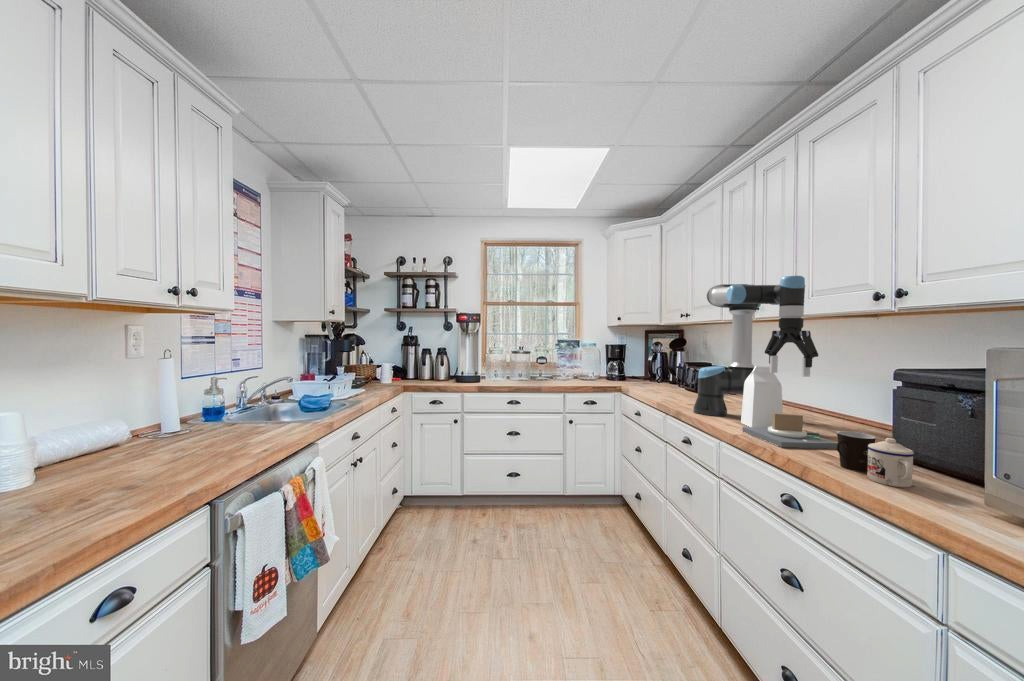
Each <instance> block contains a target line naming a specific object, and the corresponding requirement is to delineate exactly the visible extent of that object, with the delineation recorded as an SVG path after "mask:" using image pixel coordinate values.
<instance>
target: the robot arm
mask: <svg viewBox="0 0 1024 681" xmlns="http://www.w3.org/2000/svg"><path fill="white" fill-rule="evenodd" d="M805 280H806V279H805V277H804V275H803V276H802V275H788V276H787V275H785V276H783V277H781V278H780V283H779V284H748V283H745V284H743V283H742V284H741V283H737V284H735V283H734V284H727V283H726V284H723V283H722V284H718V285H714V286H712V287H711V288H710V289H708V291H707V293H706V300H707V301H708V303H709V304H710V305H712V306H714V307H716V308H724V309H725V308H726V309H728V313H729V314H731V315H732V317H731V318H732V323H731V324H732V326H731V329H732V330H731V334H732V335H731V362H730V363H729V364H728V365H727V369H726V368H725V366H721V365H719V366H715V365H714V366H705V367H701V368H699V370H698V376H697V381H698V382H697V398H696V399H695V402H694V405H693V410H692V411H693V412H694V413H695V412H696V414H699V413H700V415H705V416H714V417H715V416H716V417H720V416H721V417H722V416H723V417H724V416H727V415H728V409H727V404H726V401H725V399H724V396H725V394H739V395H740V394H741V395H743V391H744V382H745V380H746V379H747V377H748V376H749V375H750V374H751V372H752V371H753V369H754V367H755V366H756V365H754V364H753V363H752V362H753V361H752V360H753V355H752V354H753V350H752V349H753V319H754V318H753V315H754V314H755V313H756V312H757V309H758V308H760V307H761V305H771V306H774V305H775V306H777V305H779V306H778V307H779V308H778V309H779V310H778V317H779V318H778V328H779V330H772V331H771V337H770V338H769V341H768V343H767V345H766V348H765V350H764V354H765V355H768V364H769V366H770V372H771V373H774V374H775V373H776V374H777V373H778V362H779V359H778V358H779V356H778V353H779V352H780V350H781V349H782V348H783V347H784V345H785V344H787V343H793V344H794V345H795V346H796V347H797V348H798V351H800V352H801V354H802V355H803V357H802V358H801V360H802V363H801V377H811V368H812V367H813V359H814V358H818V357H819V353H818V351H817V348H816V345H815V343H814V341H813V338H812V336H811V335H812V333H811V330H802V329H803V328H804V321H805V320H804V316H805V315H804V314H805V313H804V312H805V310H804V309H805V294H806V293H805V292H806V283H805V282H806V281H805Z"/></svg>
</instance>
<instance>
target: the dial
mask: <svg viewBox="0 0 1024 681" xmlns="http://www.w3.org/2000/svg"><path fill="white" fill-rule="evenodd" d="M803 420H804V415H803V414H799V413H784V412H783V413H773V416H772V426H770V427H768V432H769V433H771V434H774V435H778V436H782V437H789V438H806V437H807V435H814V436H818V437H820V433H819V432H811V431H810V432H808V431H805V430H803V426H804V425H803Z"/></svg>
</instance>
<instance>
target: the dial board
mask: <svg viewBox="0 0 1024 681" xmlns="http://www.w3.org/2000/svg"><path fill="white" fill-rule="evenodd" d="M742 431H743V432H742V433H744V432H746V433H748V434H747V435H749V434H751V435H753V436H752V437H754V436H756V437H758V438H761V439H763V440H766V441H768V442H771V443H773V444H776V445H778V446H781V447H800V448H799V449H814V448H837V444H838V442H835V441H833V440H830V439H826V438H824V437H820V436H814V435H807V437H806V438H789V437H782V436H778V435H774V434H771V433H769V432H768V427H748V426H742ZM746 433H745V434H746ZM751 435H750V436H751ZM756 437H755V438H756ZM758 438H757V439H758ZM761 439H760V440H761ZM763 440H762V441H763ZM766 441H765V442H766ZM768 442H767V443H768ZM771 443H770V444H771ZM773 444H772V445H773ZM778 446H777V447H778Z"/></svg>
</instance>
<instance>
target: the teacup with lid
mask: <svg viewBox="0 0 1024 681" xmlns="http://www.w3.org/2000/svg"><path fill="white" fill-rule="evenodd" d="M867 448H868V471H867V472H866V473H867V478H868V479H869V480H870V481H873V482H875V483H878V484H880V485H884V486H885V485H886V486H888V487H889V486H890V487H895V488H911V487H913V474H914V469H913V468H914V467H913V466H914V456H915V452H914V451H913V450H912V449H910V448H907V447H905V446H903V445H902V444H900V443H897V440H896V439H895V438H891V437H886V438H885V441H884V440H883V441H878V442H875V443H871V444H869V445H868V446H867Z"/></svg>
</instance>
